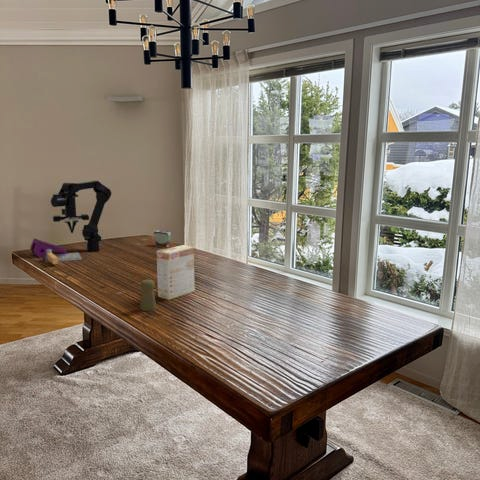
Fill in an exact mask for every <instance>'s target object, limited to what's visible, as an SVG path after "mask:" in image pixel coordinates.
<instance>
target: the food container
mask: <svg viewBox="0 0 480 480" xmlns="http://www.w3.org/2000/svg"><path fill="white" fill-rule="evenodd" d="M153 234H154V235H153V237H154V244H155V245H154V246H155V247H157V248H163V249H167V248H170V238H171V237H170V236H171V235H172V234H171V231H170V230H167V229H155V230H153Z"/></svg>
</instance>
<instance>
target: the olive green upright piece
mask: <svg viewBox="0 0 480 480" xmlns="http://www.w3.org/2000/svg"><path fill="white" fill-rule="evenodd" d="M155 286H156V285H155V281H154V280H152V279H143V280H141V282H140V289H141V299H140V305H139V306H140V307H139V309H140V310H141V311H143V312H151V311H154V310H156V309H157V303H156V298H155V292H154V288H155Z"/></svg>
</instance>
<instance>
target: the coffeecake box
mask: <svg viewBox="0 0 480 480" xmlns="http://www.w3.org/2000/svg"><path fill="white" fill-rule="evenodd" d="M156 276H157V277H156V278H157V297H159V298H162V299H165V300H168V301H169V300H172V299H176V298H178V297H181V296H184V295H188V294H190V293H191V294H192V293H193V292H195V291H196V290H195V288H196V287H195V247H194V246H189V245H185V244H182V245H177V246H172V247H169V248H163V249H159V250H156Z"/></svg>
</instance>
